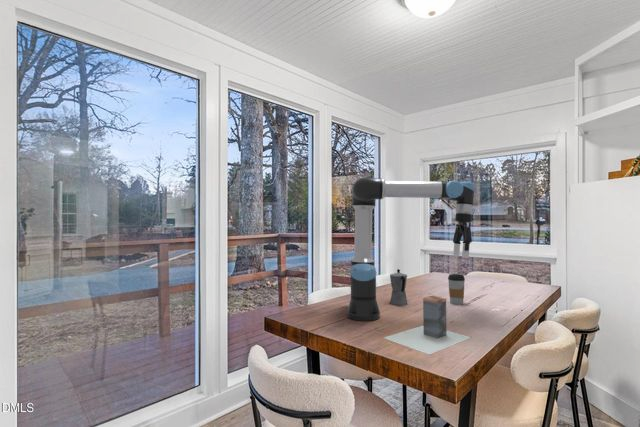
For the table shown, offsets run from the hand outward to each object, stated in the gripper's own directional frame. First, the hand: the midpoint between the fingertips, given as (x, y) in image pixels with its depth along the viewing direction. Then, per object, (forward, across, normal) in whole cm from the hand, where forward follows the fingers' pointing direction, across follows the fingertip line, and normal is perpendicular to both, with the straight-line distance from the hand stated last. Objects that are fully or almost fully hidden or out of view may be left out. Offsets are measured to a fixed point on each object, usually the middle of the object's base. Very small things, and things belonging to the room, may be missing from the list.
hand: (460, 257), depth 165 cm
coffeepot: (+28, +16, +24) cm, 40 cm away
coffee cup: (+25, +18, -6) cm, 31 cm away
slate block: (+30, -34, +18) cm, 49 cm away
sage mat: (+31, -37, +21) cm, 53 cm away
